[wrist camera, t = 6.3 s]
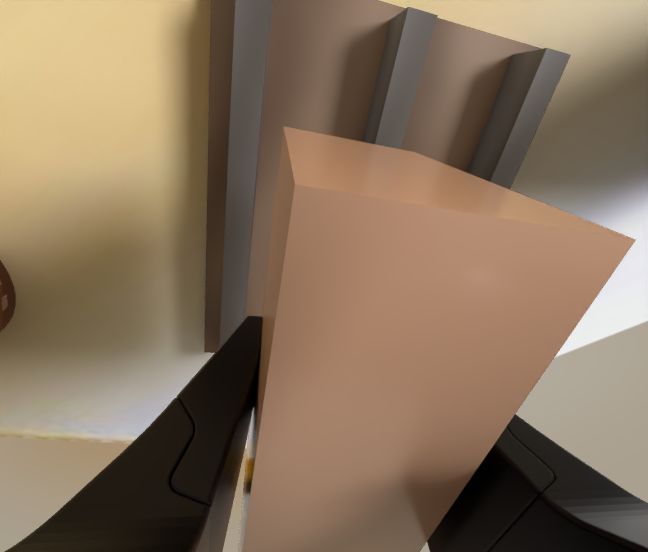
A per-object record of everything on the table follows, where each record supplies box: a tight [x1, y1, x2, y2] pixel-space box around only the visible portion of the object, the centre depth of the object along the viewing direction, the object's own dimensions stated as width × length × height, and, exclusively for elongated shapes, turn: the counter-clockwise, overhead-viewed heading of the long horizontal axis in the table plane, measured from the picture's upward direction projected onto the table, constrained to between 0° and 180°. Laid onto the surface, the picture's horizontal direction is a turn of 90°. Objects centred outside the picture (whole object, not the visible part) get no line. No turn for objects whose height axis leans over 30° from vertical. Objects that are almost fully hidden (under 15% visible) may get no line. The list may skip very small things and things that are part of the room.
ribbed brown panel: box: [205, 0, 571, 353], centre depth 18 cm, size 16×20×3 cm
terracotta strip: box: [238, 127, 635, 552], centre depth 8 cm, size 4×10×6 cm, turn 169°
